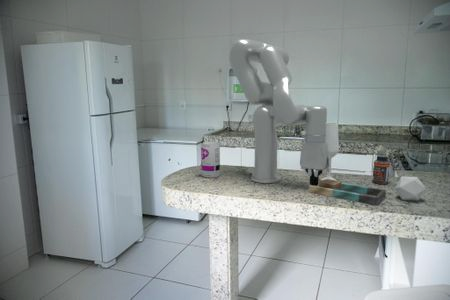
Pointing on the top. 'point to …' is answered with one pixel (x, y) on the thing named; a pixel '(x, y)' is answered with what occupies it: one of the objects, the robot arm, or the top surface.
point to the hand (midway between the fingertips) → (313, 185)
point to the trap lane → (351, 196)
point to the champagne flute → (332, 144)
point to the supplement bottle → (381, 170)
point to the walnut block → (330, 184)
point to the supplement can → (210, 159)
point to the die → (410, 188)
